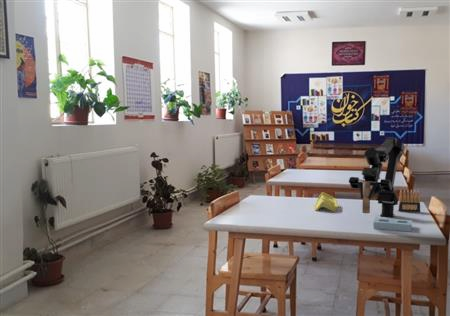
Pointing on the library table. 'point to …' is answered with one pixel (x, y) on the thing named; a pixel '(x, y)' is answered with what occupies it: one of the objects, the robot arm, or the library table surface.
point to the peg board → (393, 224)
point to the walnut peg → (366, 197)
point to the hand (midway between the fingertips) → (365, 198)
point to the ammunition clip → (407, 205)
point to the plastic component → (326, 202)
